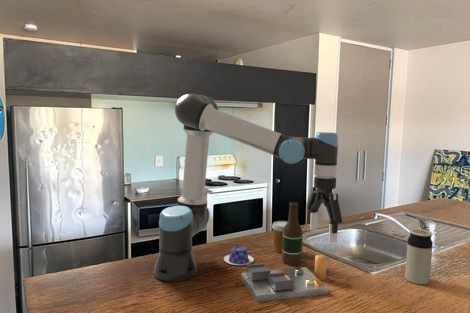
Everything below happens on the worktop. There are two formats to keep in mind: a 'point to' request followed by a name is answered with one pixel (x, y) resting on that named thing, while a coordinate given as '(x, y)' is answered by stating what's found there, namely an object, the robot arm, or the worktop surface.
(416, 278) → the travel mug
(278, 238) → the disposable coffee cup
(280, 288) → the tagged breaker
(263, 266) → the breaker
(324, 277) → the cap
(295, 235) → the beer bottle
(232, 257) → the pudding
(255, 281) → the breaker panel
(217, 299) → the worktop surface
